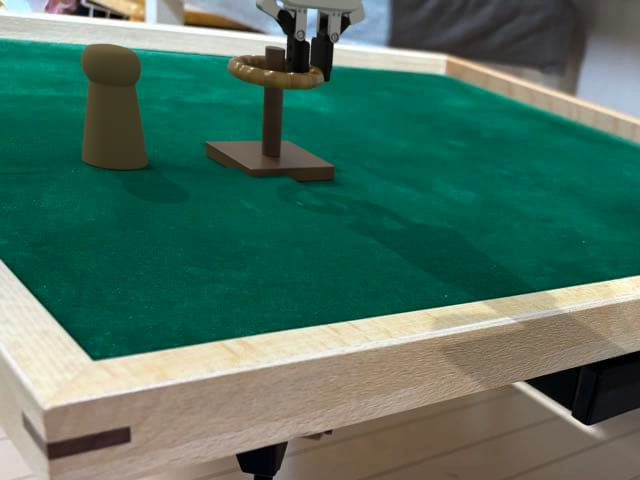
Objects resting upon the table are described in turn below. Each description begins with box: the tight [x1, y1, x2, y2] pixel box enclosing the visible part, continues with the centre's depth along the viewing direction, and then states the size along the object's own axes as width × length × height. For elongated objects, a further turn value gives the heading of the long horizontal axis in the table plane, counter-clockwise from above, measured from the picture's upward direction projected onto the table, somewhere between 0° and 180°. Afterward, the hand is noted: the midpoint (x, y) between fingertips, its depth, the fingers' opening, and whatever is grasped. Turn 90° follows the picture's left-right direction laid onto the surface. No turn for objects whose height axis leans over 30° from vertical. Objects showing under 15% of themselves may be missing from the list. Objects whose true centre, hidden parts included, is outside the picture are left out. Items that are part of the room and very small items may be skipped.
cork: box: [80, 43, 149, 171], centre depth 86 cm, size 6×6×11 cm
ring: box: [227, 54, 325, 91], centre depth 92 cm, size 10×10×2 cm
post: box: [205, 45, 336, 182], centre depth 93 cm, size 10×10×12 cm
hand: (308, 77), depth 95 cm, fingers closed on ring, 2 cm apart
